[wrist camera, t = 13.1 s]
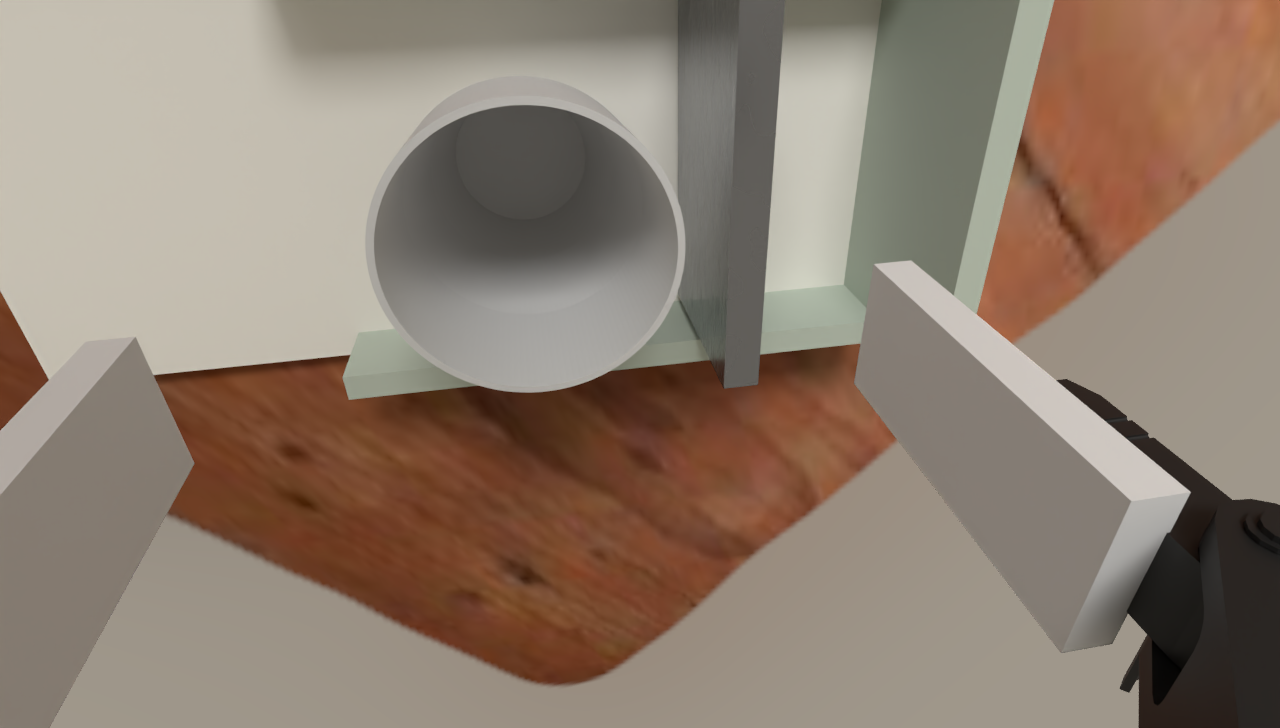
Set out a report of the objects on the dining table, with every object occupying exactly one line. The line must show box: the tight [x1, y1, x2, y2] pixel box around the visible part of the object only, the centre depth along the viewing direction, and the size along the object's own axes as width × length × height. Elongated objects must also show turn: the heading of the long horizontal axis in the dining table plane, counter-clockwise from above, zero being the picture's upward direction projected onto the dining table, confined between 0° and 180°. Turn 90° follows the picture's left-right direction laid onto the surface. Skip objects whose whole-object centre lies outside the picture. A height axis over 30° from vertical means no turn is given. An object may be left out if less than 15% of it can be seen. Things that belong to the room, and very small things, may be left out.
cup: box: [365, 76, 686, 393], centre depth 23 cm, size 8×8×10 cm
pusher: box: [678, 0, 785, 389], centre depth 24 cm, size 1×13×8 cm, turn 2°
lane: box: [0, 0, 1054, 400], centre depth 23 cm, size 34×16×9 cm, turn 92°
